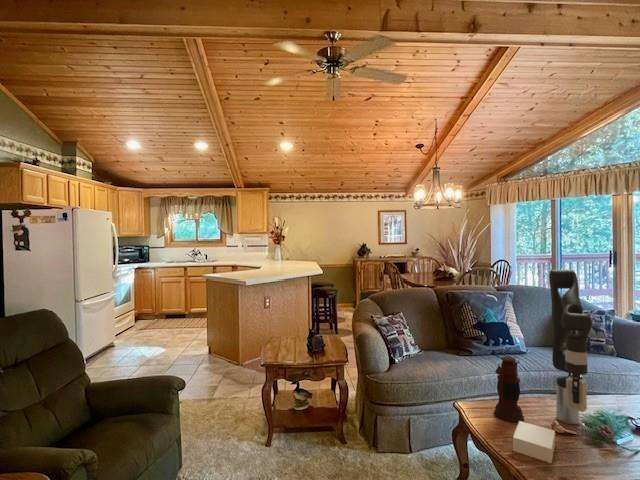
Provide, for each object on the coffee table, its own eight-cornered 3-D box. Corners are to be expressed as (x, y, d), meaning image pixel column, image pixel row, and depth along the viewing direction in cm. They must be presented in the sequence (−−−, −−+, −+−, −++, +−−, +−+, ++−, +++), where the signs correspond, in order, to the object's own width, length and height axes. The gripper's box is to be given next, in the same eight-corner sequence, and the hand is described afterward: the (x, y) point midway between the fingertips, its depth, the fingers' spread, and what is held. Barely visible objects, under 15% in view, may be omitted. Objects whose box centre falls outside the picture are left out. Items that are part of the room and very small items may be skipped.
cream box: (519, 433, 167) (519, 420, 167) (555, 444, 159) (555, 430, 159) (513, 450, 155) (512, 437, 155) (551, 463, 146) (551, 448, 146)
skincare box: (587, 409, 150) (587, 380, 149) (583, 412, 147) (583, 383, 147) (569, 403, 155) (569, 376, 154) (565, 406, 152) (565, 378, 152)
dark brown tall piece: (513, 427, 172) (512, 366, 171) (486, 415, 184) (485, 357, 183) (531, 416, 182) (531, 358, 181) (504, 405, 193) (504, 350, 192)
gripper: (566, 353, 158) (566, 391, 159) (564, 364, 147) (564, 404, 147) (587, 357, 154) (587, 396, 154) (587, 368, 142) (587, 410, 143)
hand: (576, 400), depth 151 cm, fingers closed on skincare box, 5 cm apart
